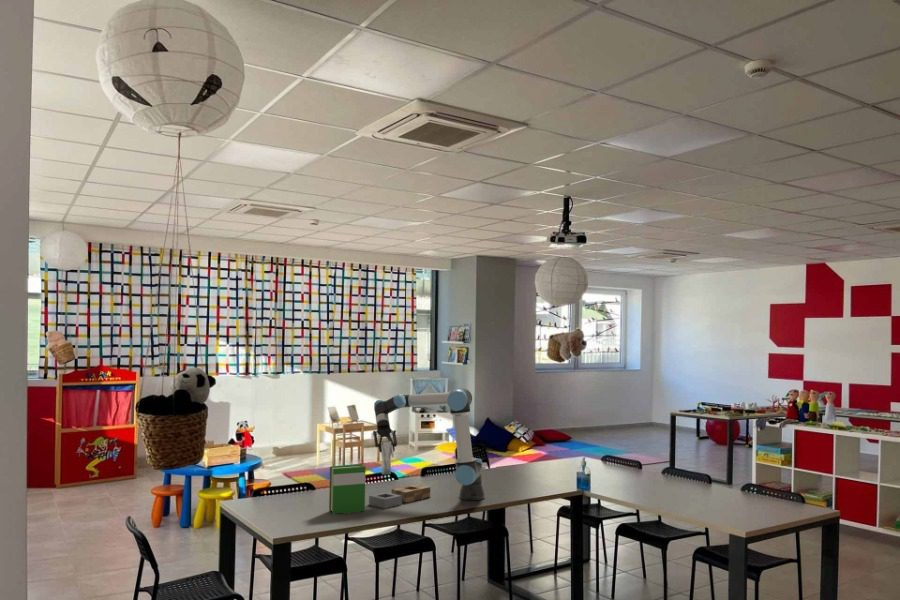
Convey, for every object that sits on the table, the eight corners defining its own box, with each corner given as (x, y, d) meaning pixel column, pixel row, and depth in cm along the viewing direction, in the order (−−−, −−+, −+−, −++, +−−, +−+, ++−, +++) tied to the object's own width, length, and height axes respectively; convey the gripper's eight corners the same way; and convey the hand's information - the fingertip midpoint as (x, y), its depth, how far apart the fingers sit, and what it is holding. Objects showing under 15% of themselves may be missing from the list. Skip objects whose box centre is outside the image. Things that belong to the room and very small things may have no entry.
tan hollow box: (430, 497, 404) (430, 487, 404) (405, 503, 389) (405, 492, 390) (415, 494, 412) (416, 484, 412) (391, 499, 397) (391, 489, 398)
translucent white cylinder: (392, 473, 387) (393, 441, 388) (385, 474, 384) (386, 442, 385) (386, 472, 391) (387, 440, 392) (380, 473, 387) (380, 441, 388)
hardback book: (332, 514, 361) (333, 468, 363) (329, 511, 368) (330, 466, 370) (364, 511, 369) (365, 466, 370) (360, 508, 375) (361, 464, 377)
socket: (401, 504, 385) (401, 495, 385) (384, 508, 375) (384, 499, 376) (386, 501, 394) (386, 492, 394) (368, 504, 384) (369, 495, 385)
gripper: (396, 426, 406) (402, 459, 389) (366, 427, 401) (371, 460, 384) (398, 418, 401) (404, 451, 384) (368, 419, 396) (373, 452, 379)
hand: (387, 456), depth 384 cm, fingers closed on translucent white cylinder, 5 cm apart
